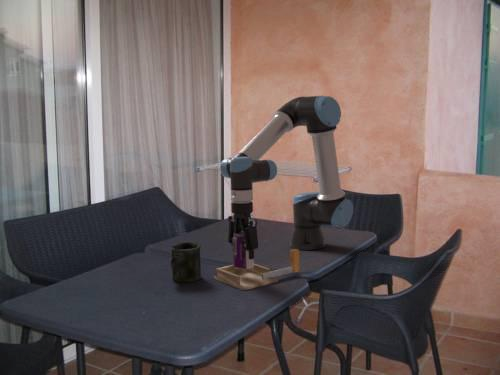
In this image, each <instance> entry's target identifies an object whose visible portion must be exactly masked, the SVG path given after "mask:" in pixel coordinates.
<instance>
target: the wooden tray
mask: <svg viewBox="0 0 500 375" xmlns="http://www.w3.org/2000/svg"><path fill="white" fill-rule="evenodd" d="M214 271H215V275H214V276H213V280H215V281H216V280H217V281H218V282H220V283H224V284H227V285H229V286H232V287H234V288H236V289H240V290H242V291H247V290H251V289H255V288H258V287H263V286H267V285H271V284H274V283H277V282H279V278H277V277H273V278H269V279H265V280H263V279H262V273H266V272H270V271H271V268H270V267H266V266H263V265H259V264H257V263H254V267H253V268H249V269H239V268H236V267H234V266H233V264H230V265H225V266H222V267H217V268H215V270H214Z"/></svg>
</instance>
